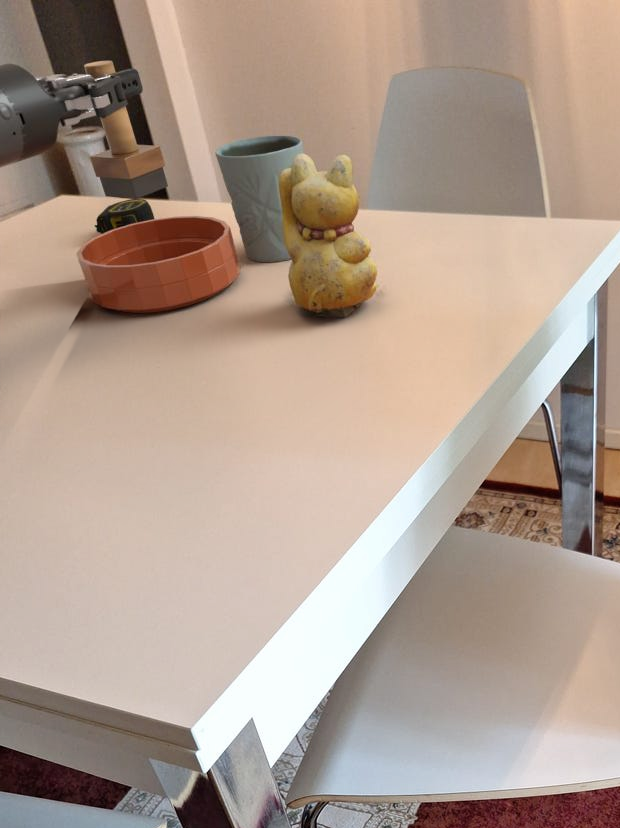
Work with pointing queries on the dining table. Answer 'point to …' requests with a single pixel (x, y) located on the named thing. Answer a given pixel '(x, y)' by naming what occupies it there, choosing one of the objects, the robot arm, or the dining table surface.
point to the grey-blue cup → (258, 191)
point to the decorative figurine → (325, 238)
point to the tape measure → (124, 215)
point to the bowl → (159, 263)
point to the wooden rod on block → (125, 153)
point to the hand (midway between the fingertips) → (125, 80)
